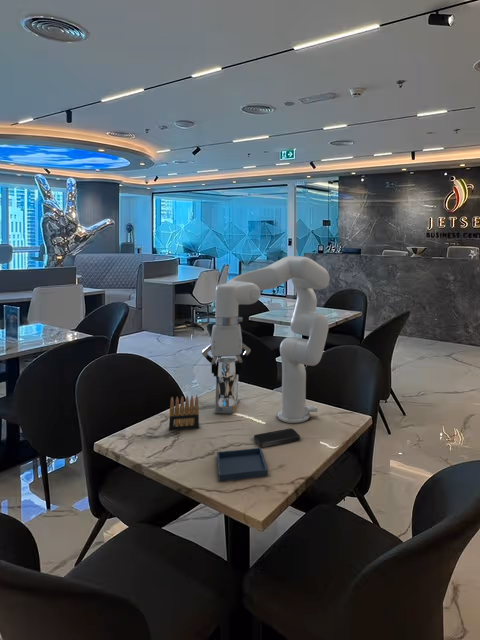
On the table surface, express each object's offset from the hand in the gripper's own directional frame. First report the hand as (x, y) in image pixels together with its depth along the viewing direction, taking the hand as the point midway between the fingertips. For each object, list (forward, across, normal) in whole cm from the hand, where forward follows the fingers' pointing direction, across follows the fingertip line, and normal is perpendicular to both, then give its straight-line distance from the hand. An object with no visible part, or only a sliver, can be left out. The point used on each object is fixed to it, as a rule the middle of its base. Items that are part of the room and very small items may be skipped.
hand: (226, 374), depth 146 cm
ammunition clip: (+26, +14, -20) cm, 35 cm away
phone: (+26, -18, -4) cm, 32 cm away
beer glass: (+10, 0, 0) cm, 10 cm away
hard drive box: (+26, -3, -38) cm, 46 cm away
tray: (+25, -4, +12) cm, 28 cm away
